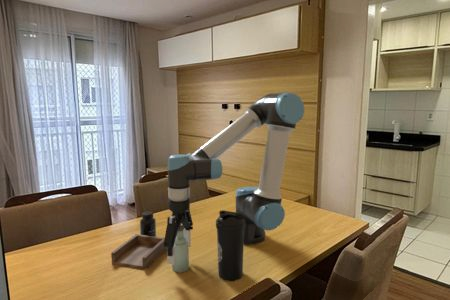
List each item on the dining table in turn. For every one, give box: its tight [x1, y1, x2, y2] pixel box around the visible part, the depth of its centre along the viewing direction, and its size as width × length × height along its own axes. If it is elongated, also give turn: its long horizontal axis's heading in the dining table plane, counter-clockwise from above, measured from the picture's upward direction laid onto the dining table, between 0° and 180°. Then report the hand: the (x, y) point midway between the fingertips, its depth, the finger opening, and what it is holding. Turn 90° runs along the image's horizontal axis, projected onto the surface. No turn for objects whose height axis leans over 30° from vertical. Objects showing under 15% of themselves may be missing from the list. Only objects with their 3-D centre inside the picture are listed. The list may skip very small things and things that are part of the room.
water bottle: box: [215, 209, 245, 282], centre depth 104 cm, size 10×10×23 cm
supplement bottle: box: [139, 211, 157, 237], centre depth 134 cm, size 7×7×12 cm
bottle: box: [171, 224, 190, 273], centre depth 109 cm, size 6×6×16 cm
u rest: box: [110, 233, 167, 270], centre depth 119 cm, size 14×17×4 cm
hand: (179, 254), depth 109 cm, fingers open, 13 cm apart
